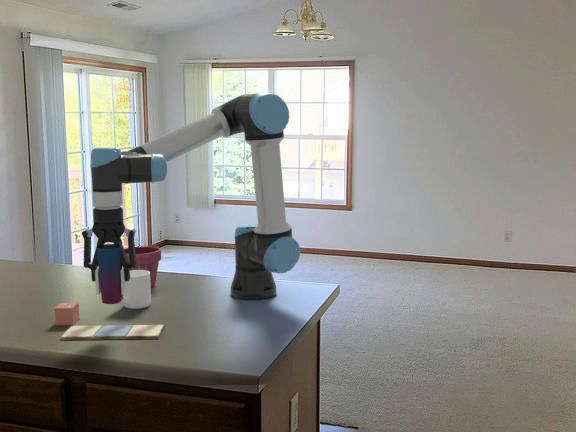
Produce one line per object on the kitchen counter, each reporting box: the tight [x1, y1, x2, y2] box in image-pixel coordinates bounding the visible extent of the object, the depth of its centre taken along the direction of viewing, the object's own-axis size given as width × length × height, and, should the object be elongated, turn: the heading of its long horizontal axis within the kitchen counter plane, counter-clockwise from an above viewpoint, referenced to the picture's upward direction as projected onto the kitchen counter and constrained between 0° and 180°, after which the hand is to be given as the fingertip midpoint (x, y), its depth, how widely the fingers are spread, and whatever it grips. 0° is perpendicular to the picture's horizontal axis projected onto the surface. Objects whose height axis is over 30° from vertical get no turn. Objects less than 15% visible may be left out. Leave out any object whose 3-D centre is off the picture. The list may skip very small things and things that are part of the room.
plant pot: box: [124, 245, 162, 288], centre depth 212 cm, size 14×14×13 cm
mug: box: [118, 270, 152, 310], centre depth 188 cm, size 12×8×10 cm
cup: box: [95, 243, 124, 305], centre depth 163 cm, size 7×7×15 cm
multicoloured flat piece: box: [59, 324, 165, 341], centre depth 165 cm, size 26×9×1 cm, turn 92°
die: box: [54, 302, 80, 326], centre depth 174 cm, size 5×5×5 cm
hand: (111, 292), depth 164 cm, fingers closed on cup, 6 cm apart
